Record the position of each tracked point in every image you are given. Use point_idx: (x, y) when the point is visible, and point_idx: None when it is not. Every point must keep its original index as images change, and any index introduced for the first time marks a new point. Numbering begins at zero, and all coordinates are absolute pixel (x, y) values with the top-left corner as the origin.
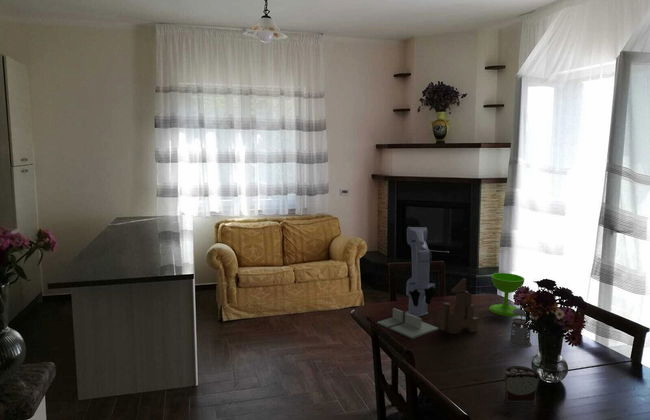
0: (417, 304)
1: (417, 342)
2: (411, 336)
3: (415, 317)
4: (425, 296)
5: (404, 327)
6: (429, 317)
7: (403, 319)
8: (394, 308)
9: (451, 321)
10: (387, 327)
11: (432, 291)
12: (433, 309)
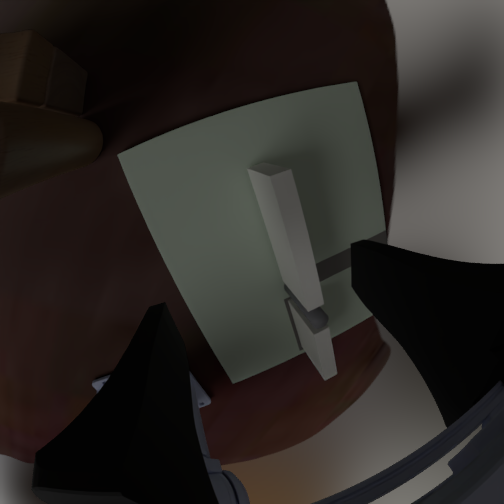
0: (373, 245)
1: (346, 39)
2: (357, 89)
3: (303, 215)
4: (192, 417)
5: (328, 215)
6: (98, 344)
7: None
8: (328, 376)
9: (56, 48)
10: None
11: (114, 459)
12: (61, 410)
